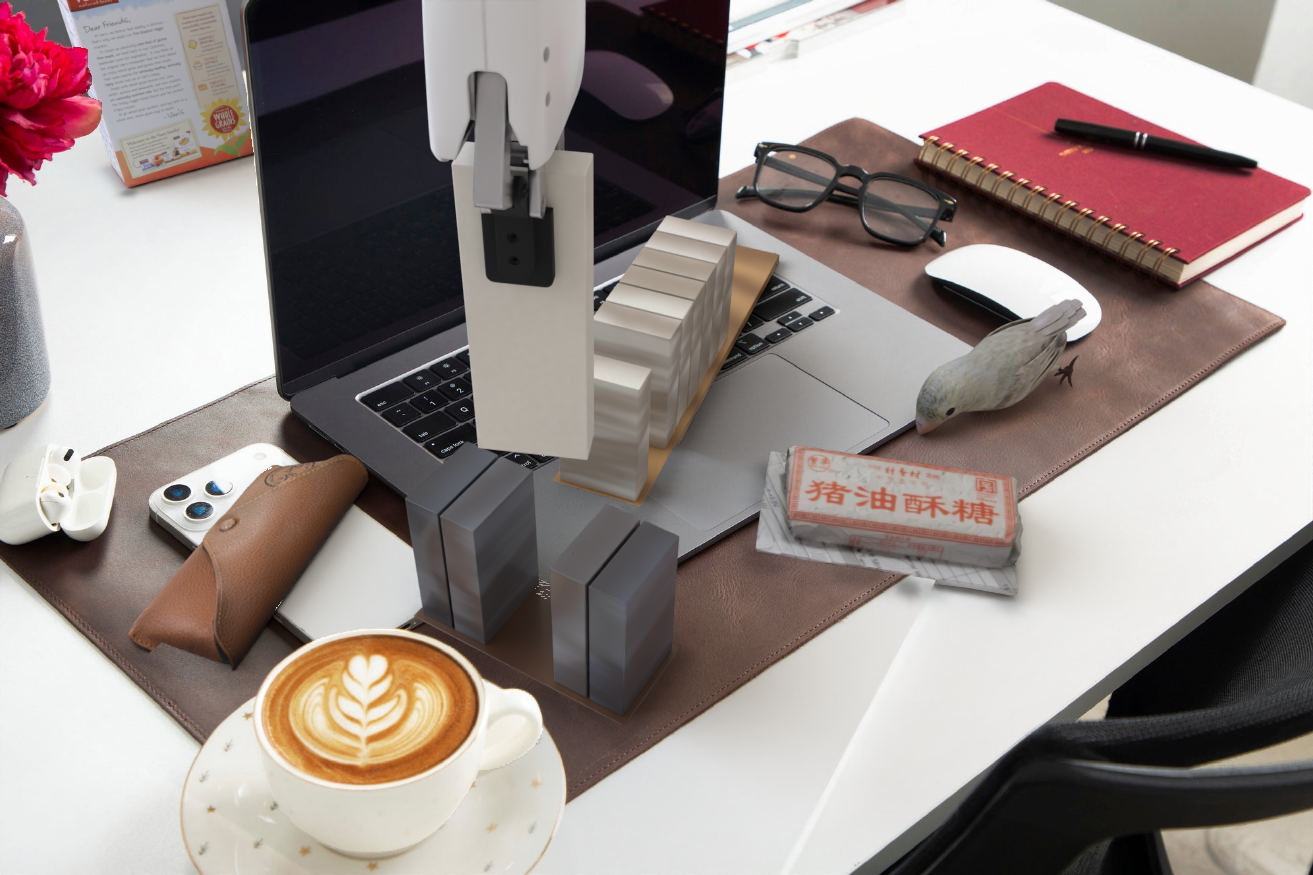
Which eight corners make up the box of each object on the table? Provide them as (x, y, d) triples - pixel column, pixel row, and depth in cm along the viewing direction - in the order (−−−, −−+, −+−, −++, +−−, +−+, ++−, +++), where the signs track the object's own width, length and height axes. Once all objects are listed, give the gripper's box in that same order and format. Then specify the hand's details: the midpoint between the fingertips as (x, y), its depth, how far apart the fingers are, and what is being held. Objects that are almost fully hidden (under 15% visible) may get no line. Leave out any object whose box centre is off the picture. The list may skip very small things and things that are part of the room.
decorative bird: (892, 417, 92) (909, 342, 87) (1033, 355, 99) (1056, 283, 94) (938, 456, 89) (959, 380, 84) (1081, 390, 95) (1108, 316, 90)
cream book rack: (640, 516, 83) (644, 394, 75) (552, 490, 84) (547, 368, 77) (778, 263, 108) (792, 152, 100) (708, 247, 110) (717, 136, 102)
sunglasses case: (267, 458, 85) (294, 409, 81) (348, 510, 86) (379, 465, 82) (117, 643, 72) (140, 597, 68) (215, 701, 73) (244, 660, 69)
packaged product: (1023, 452, 82) (1032, 554, 75) (1007, 500, 85) (1014, 602, 78) (773, 417, 84) (758, 513, 77) (766, 465, 87) (752, 561, 80)
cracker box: (241, 131, 124) (195, -70, 110) (262, 154, 120) (217, -51, 106) (108, 165, 117) (41, -44, 103) (126, 190, 114) (59, -23, 100)
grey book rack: (680, 655, 74) (690, 532, 66) (624, 735, 69) (627, 613, 61) (479, 557, 79) (466, 433, 72) (414, 625, 75) (393, 501, 67)
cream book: (587, 460, 61) (585, 176, 50) (477, 448, 62) (450, 164, 50) (594, 433, 63) (593, 152, 52) (487, 422, 63) (463, 140, 52)
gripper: (463, -213, 49) (490, 175, 61) (336, -96, 37) (402, 357, 49) (638, -200, 48) (629, 189, 60) (566, -78, 36) (574, 376, 49)
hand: (527, 261), depth 55 cm, fingers closed on cream book, 2 cm apart
